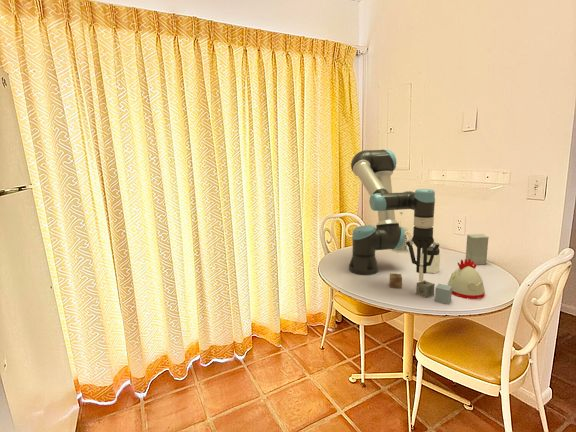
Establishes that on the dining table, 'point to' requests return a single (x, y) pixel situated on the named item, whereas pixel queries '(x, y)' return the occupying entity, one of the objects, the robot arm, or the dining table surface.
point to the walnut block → (395, 280)
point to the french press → (403, 248)
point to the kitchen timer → (467, 281)
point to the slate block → (443, 293)
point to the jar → (435, 262)
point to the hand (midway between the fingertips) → (420, 279)
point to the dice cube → (425, 289)
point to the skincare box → (477, 248)
